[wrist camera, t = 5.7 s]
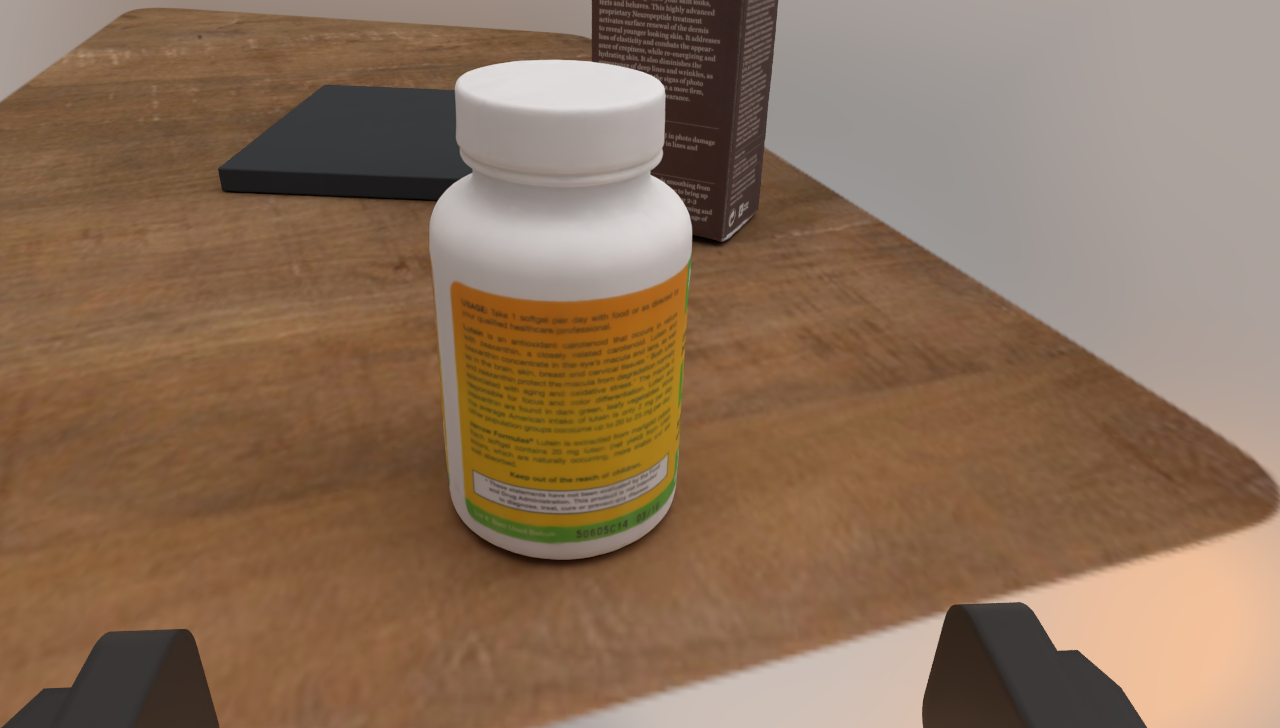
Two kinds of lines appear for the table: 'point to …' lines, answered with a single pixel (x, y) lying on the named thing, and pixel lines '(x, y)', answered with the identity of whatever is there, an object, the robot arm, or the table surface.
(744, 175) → the box
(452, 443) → the supplement bottle
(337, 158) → the charcoal mat
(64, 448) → the table surface
